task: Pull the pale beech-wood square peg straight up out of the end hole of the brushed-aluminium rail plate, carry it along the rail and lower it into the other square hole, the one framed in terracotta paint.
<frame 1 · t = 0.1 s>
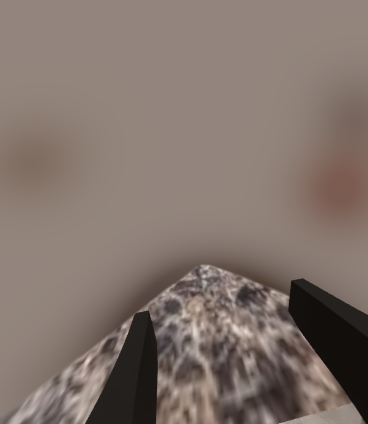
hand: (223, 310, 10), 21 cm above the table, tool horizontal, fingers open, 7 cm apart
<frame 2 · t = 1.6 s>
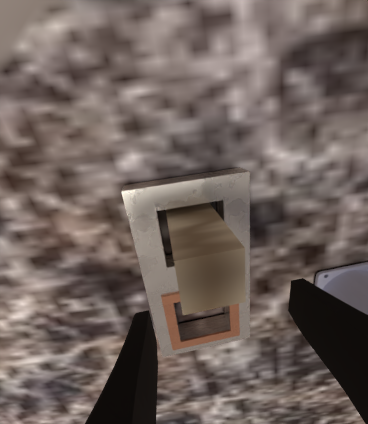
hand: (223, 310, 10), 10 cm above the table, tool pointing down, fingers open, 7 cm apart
peg: (189, 225, 19), resting in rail
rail: (194, 266, 21), on the table
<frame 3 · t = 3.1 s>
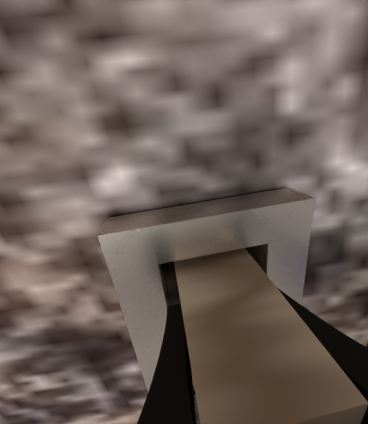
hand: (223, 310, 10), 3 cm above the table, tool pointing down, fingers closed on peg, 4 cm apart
peg: (208, 272, 13), resting in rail, touching gripper
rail: (213, 326, 15), on the table
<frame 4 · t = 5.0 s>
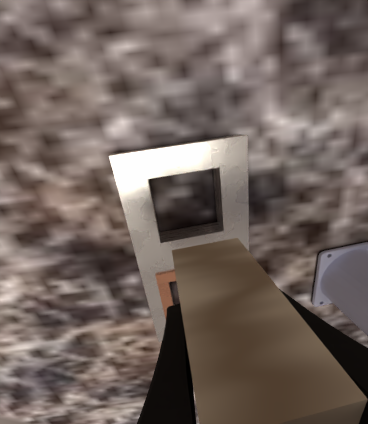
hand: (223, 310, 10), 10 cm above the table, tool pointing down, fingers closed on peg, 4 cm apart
peg: (207, 271, 13), point 7 cm above the table, touching gripper
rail: (191, 245, 20), on the table
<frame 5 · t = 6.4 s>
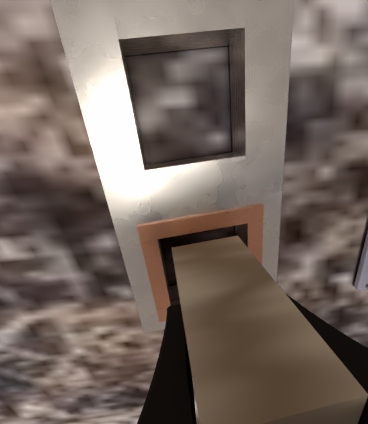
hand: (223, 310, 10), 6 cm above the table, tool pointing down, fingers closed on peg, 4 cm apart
peg: (207, 269, 13), point 3 cm above the table, touching gripper
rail: (193, 189, 13), on the table
when the fingers open (4 cm above the table, at t = 7.2 s): peg stays where it is, resting in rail.
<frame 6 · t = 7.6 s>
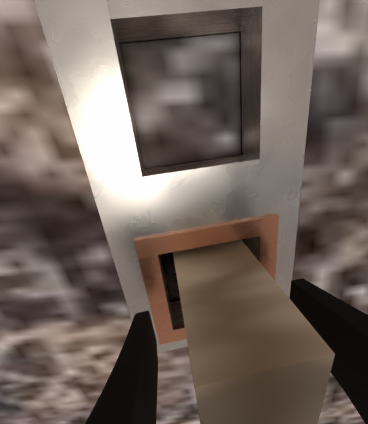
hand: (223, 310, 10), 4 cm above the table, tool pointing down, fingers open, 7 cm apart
peg: (204, 260, 14), resting in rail
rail: (197, 196, 12), on the table
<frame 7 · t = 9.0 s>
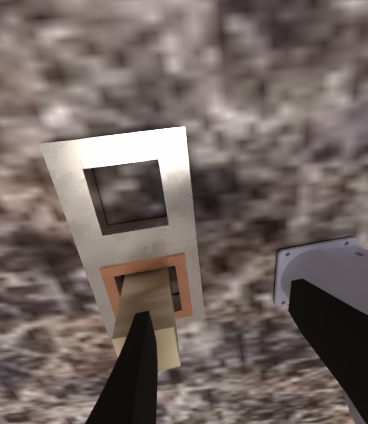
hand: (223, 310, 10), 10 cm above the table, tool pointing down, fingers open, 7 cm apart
peg: (150, 277, 21), resting in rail
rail: (141, 239, 20), on the table
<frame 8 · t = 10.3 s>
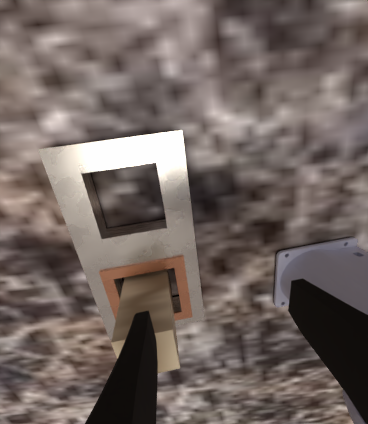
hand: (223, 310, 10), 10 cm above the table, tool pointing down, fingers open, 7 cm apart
peg: (149, 279, 21), resting in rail
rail: (141, 242, 20), on the table
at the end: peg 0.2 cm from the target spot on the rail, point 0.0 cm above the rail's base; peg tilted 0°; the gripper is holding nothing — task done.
